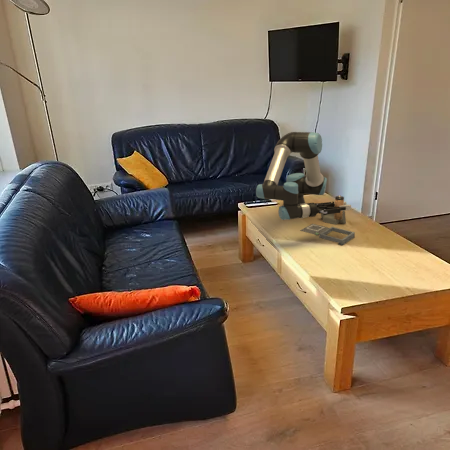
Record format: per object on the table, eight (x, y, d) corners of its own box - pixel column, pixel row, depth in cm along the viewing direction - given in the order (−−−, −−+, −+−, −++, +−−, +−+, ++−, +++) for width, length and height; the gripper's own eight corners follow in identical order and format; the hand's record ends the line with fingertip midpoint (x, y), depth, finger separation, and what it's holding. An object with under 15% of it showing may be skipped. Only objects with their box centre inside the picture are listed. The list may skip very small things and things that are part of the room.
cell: (336, 216, 219) (338, 194, 214) (343, 218, 216) (345, 195, 211) (332, 218, 216) (333, 196, 211) (339, 220, 213) (341, 197, 208)
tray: (331, 231, 230) (332, 226, 229) (354, 237, 221) (354, 232, 220) (319, 239, 220) (319, 234, 219) (342, 245, 211) (342, 240, 210)
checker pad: (312, 225, 240) (312, 222, 239) (330, 229, 232) (330, 226, 232) (299, 232, 231) (299, 228, 230) (317, 237, 223) (318, 233, 222)
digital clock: (347, 224, 239) (348, 208, 235) (338, 228, 234) (339, 211, 230) (326, 218, 251) (326, 202, 247) (316, 221, 246) (317, 205, 242)
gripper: (301, 211, 220) (340, 207, 224) (314, 222, 204) (355, 217, 208) (301, 198, 217) (340, 194, 221) (314, 208, 201) (356, 204, 205)
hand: (348, 205), depth 215 cm, fingers closed on cell, 4 cm apart
